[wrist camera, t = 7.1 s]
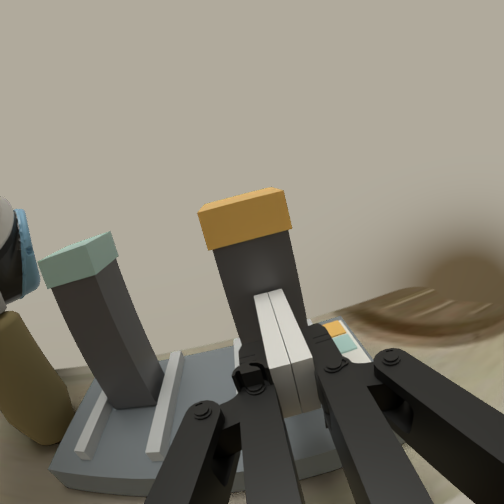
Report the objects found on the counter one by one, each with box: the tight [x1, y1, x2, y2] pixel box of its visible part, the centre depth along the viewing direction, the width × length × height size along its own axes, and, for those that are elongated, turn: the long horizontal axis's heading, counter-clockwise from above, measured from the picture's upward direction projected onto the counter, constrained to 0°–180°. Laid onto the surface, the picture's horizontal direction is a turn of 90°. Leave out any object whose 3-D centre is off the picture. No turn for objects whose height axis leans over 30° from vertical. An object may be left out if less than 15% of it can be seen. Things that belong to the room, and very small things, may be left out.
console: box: [48, 316, 405, 496], centre depth 20 cm, size 25×14×4 cm, turn 94°
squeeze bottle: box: [0, 292, 75, 445], centre depth 18 cm, size 8×8×18 cm
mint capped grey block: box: [38, 231, 165, 409], centre depth 20 cm, size 4×4×13 cm
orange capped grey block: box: [197, 187, 308, 344], centre depth 18 cm, size 4×4×13 cm
